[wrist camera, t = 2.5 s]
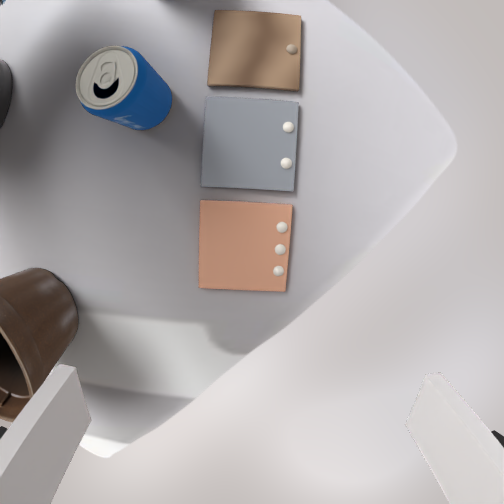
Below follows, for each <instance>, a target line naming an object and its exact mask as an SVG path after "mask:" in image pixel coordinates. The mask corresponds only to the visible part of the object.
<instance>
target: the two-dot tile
mask: <svg viewBox="0 0 504 504" xmlns="http://www.w3.org/2000/svg"><path fill="white" fill-rule="evenodd" d="M298 104H299V102H292V101H281V100H269V99H255V98H236V97H206V106H205V120H204V135H203V152H202V172H201V187H226V188H247V189H265V190H281V191H294V177H295V161H296V144H297V125H298Z"/></svg>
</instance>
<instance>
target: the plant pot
mask: <svg viewBox="0 0 504 504" xmlns="http://www.w3.org/2000/svg"><path fill="white" fill-rule="evenodd" d="M77 329H78V314H77V309H76V305H75V303H74V300H73V298H72V296H71V294H70V292H69V290H68V289H67V287H66V286H65V285H64V283H62V282H60V281H59V280H57V279H56V278H55V277H54V275H53V274H52V273H51V272H49V271H47V270H45V269H41V268H30V269H27V270H24V271H21V272H18V273H16V274H13V275H10V276H7V277H4V278H2V279H0V419H3V420H5V421H9V422H13V421H14V420H15V419H16V417H17V416H18V415H19V413H20V412H21V411H22V410H23V408H24V407H25V406H26V404H27V403H28V402H29V401H30V399H31V398H32V397H33V395H34V394H35V393H36V392H37V390H38V389H39V388H40V387H41V385H42V384H43V383H44V381H45V379H46V378H47V376H48V375H49V373H50V372H51V370H52V369H53V367H54V366H55V364H56V363H57V361H58V360H59V358H60V357H61V355H62V354H63V353H64V351H65V350H66V348H67V347H68V345H69V344H70V343H71V341H72V340H73V338H74V336H75V334H76V332H77Z"/></svg>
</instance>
